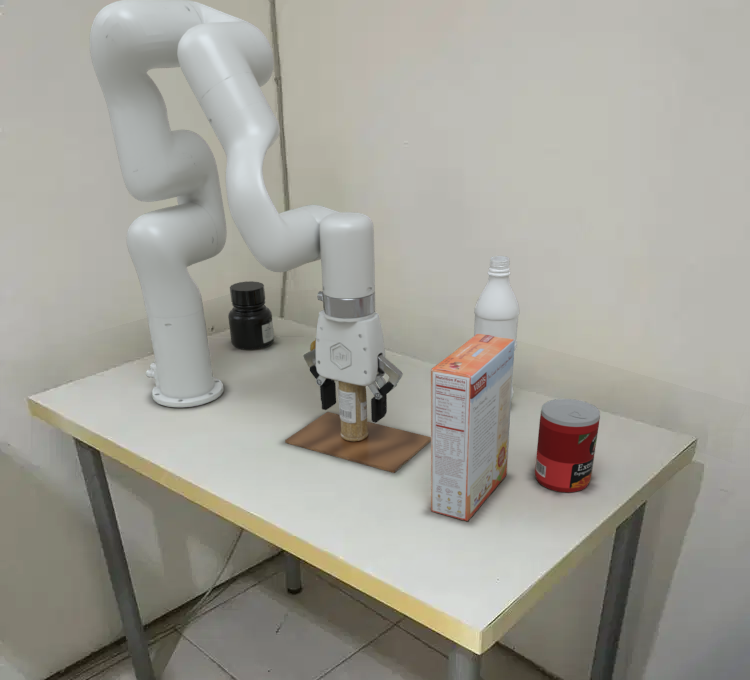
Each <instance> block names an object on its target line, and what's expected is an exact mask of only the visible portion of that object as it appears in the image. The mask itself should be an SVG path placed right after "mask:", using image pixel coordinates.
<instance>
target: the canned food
mask: <svg viewBox="0 0 750 680" xmlns="http://www.w3.org/2000/svg"><path fill="white" fill-rule="evenodd" d="M600 420H601V411H600V409H599V408H598V407H596V406H595V405H593V404H592V403H589V402H587V401H584V400H580V399H576V398H557V399H551V400H548V401H546V402H545V403H543V404H542V406H541V410H540V418H539V423H538V433H537V445H536V455H535V467H534V475H535V479H536V481H537V482H538V483H539V485H541V486H543V487H544V488H546V489H549V490H551V491H554V492H559V493H575V492H580V491H582V490H585V488H587V487H588V485H589V483H590V482H591V480H592V474H593V468H594V459H595V453H596V447H597V440H598V434H599V428H600Z"/></svg>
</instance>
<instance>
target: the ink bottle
mask: <svg viewBox="0 0 750 680" xmlns="http://www.w3.org/2000/svg"><path fill="white" fill-rule="evenodd" d="M229 292H230V293H229V294H230V301H231V305H232V306H233V307H232V308H231V310H230V311H229V312H228V315H227V317H228V325H229V332H230V333H229V334H230V341H231V345H232V346H233V347H234V348H236V349H239V350H246V351H247V350H248V351H249V350H251V351H252V350H258V349H265V348H268V347H270V346H271V345H272V344H273V343H274V342H275V341H274V340H275V335H274V323H273V313H272V310H271V309H270V308H269V307H268V306H267V305H265V304H266V291H265V285H264V283H263V282H260V281H247V280H246V281H239V282H236V283H233V284H231V285H230V286H229Z"/></svg>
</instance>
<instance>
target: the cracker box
mask: <svg viewBox="0 0 750 680" xmlns="http://www.w3.org/2000/svg"><path fill="white" fill-rule="evenodd" d="M514 346H515V340H514V339H508V338H501V337H494V336H490V335H484V334H476V335H475V336H474V335H473V336H472V337H471V338H470V339H468V340H467V341H466V342H465V343H463V344H462V345H460V347H458V348H457V349H455V350H454V351H453V352H452V353H450V354H449V355H448V356H446V357H445V358H444V359H442V360H441V361H440V362H438V363H437V364H436V365H435V366H433V367H432V368H431V369H430V437H431V442H430V511H431V512H432V513H436V514H440V515H443V516H447V517H450V518H454V519H458V520H461V521H465V522H469V520H470V519H471V518H472V517H473V516H474V515H475V513H476V512H477V511H478V510H479V508H481V506H482V505H483V504H484V502H485V501H486V500H487V499H488V498H489V497H490V496H491V494H492V493H493V492H494V491H495V490H496V488H497V487H498V486H499V484H500V483H501V482H502V481H503V480H504V479H505V477H506V476H507V473H508V458H509V442H510V425H511V409H512V400H511V395H512V386H513V379H514V378H513V377H514V362H515V361H514V360H515V351H514Z"/></svg>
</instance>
